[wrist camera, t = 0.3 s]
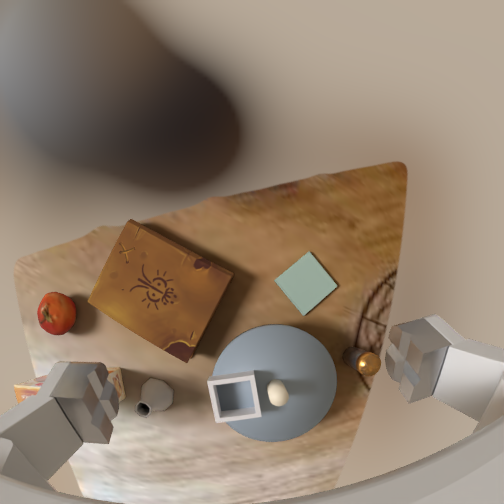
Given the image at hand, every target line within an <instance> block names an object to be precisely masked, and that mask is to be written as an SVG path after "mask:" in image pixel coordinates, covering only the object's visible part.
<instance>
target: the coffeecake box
mask: <svg viewBox="0 0 504 504" xmlns="http://www.w3.org/2000/svg"><path fill="white" fill-rule="evenodd" d="M107 370H108V373H109V375H108V378H107V380H108V381H109V382H111V383H112V384H113V385H114V386H115V388H116V391H117V394H118V398H119V402H120V401H121V400H123V399H124V398H126V395H125V391H124V386H123V381H122V374H121V369H120V367H115V368H107ZM47 376H48V375H45V376H42V377H39V378H36V379H33V380H30V381H26V382H23V383H20V384H16V385H14V388H15V393H16V397H17V401H18V404H19V403H20V402H22V401H24V400H25V399H27V398H28V397H30V396H31V395H36V394H37V393H38V391H39V389H40V388H41V386H42V384H43V383H44V381H45V379H46V378H47Z"/></svg>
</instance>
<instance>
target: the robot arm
mask: <svg viewBox="0 0 504 504" xmlns="http://www.w3.org/2000/svg"><path fill="white" fill-rule="evenodd" d="M389 339H390V341H391V342H392V344H391V345H390V346H389V348H388V349H387V350H386V357H385V362H386V369H387V371H388V374H389V375H390V377H391V378H392V379H393V380H394V381H397V382H399V383H400V386H399V390H400V391H401V393H402V394H403V396H404V397H405V399H406V400H407V402H408V403H412V402H415V401H418V400H421V399H424V398H427V397H429V396H432V395H433V397H434V398H436V399H438V400H439V401H441V402H443V403H445V404H447V405H449V406H451V407H453V408H454V409H456V410H458V411H460V412H462V413H464V414H465V415H467V416H469V417H471V418H473V419H475V420H477V421H479V423H478V425H477V426H476V428H475V430H474V431H473V434H471V435H470V436H468V437H466V438H464V439H462V440H460V441H459V442H457V443H455V444H453V445H451V446H449V447H447V448H445V449H443V450H441V451H438V452H436V453H434V454H432V455H430V456H428V457H426V458H423V459H421V460H418V461H416V462H414V463H411V464H409V465H406V466H404V467H401V468H399V469H396V470H394V471H391V472H388V473H385V474H382V475H380V476H376V477H373V478H370V479H367V480H364V481H361V482H358V483H354V484H351V485H347V486H343V487H340V488H336V489H332V490H328V491H324V492H319V493H315V494H310V495H305V496H300V497H295V498H289V499H283V500H277V501H270V502H263V503H254V504H504V349H502V348H499V347H496V346H493V345H489V344H486V343H482V342H479V341H476V340H472V339H467V340H465V339H464V338H463V337H462V336H461V335H460V334H459V333H457V332H456V331H455V330H454V329H453V328H452V327H451V326H450V325H448V324H447V323H446V322H445V321H444V320H443V319H442V318H440V317H439V316H438V315H435V314H432V315H429V316H426V317H422V318H420V319H417V320H413V321H410V322H406V323H402V324H398V325H394V326H392V327H391V329H390V332H389ZM108 375H109V373H108V370H107V368H106V366H105V365H104V364H103V363H101V362H64V361H59V362H57V363H55V365H54V366H53V368H52V369H51V371H50V373H49V374H48V376H47V378H46V379H45V381H44V383H43V384H42V386H41V388H40V389H39V391H38V393H37V394H36V395H31V396H30V397H28V398H27V399H25V400H24V401H22V402H20V403H19V404H17V405H16V406H14V407H13V408H11V409H9V410H8V411H6V412H5V413H4V414H2V415H0V504H123V503H115V502H108V501H102V500H95V499H90V498H84V497H79V496H74V495H70V494H65V493H61V492H58V491H57V490H56V489H55V488H54V487H53V486H52V485H51V484H50V483H49V482H48V480H49V479H50V478H51V477H52V476H53V475H54V473H55V472H56V471H57V470H58V469H59V468H60V467H61V466H62V465H63V464H64V463H65V462H66V461H67V460H68V459H69V458H70V457H71V456H72V455H73V454H74V453H75V452H76V451H77V450H78V449H79V448H80V447H81V446H82V445H83V442H86V443H100V444H109V441H110V438H111V434H112V431H113V425H112V423H111V420H112V419H114V418H115V417H116V416H117V413H118V410H119V398H118V394H117V391H116V388H115V386H114V385H113V384H112V383H111V382H109V381H108V380H107V378H108Z"/></svg>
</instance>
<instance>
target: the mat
mask: <svg viewBox="0 0 504 504" xmlns="http://www.w3.org/2000/svg"><path fill="white" fill-rule="evenodd" d="M274 281H275V282H276V283H277V285H278V286H279V287H280V288H281V290H282V291H283V292H284V293H285V294H286V296H287V297H288V298H289V299H290V300H291V302H292V303H293V304H294V305H295V307H296V308H297V309H298V310H299V311H300V313H301V314H302V315H303V316H304V315H305V314H306V313H307V312H309V311H310V310H311V309H312V308H313V307H314V306H316V305H317V304H318V303H319V302H320V301H321V300H322V299H324V298H325V297H326V296H327V295H328V294H329V293H330V292H331V291H333V290H334V289H335V288H336V287H337V285H336V283H335V282H334V281H333V280H332V279H331V277H330V276H329V275H328V274H327V272H326V271H325V270H324V269H323V267H322V266H321V265H320V264H319V263H318V261H317V260H316V259H315V258H314V257H313V255H312V254H311V253H310V252H308V253H306V254H305V255H304V256H303V257H302V258H301V259H299V260H298V261H297V262H296V263H295V264H293V265H292V266H291V267H290V268H289V269H287V270H286V271H285V272H284V273H283V274H281V275H280V276H279V277H278V278H277V279H275V280H274Z"/></svg>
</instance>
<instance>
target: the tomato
mask: <svg viewBox="0 0 504 504" xmlns="http://www.w3.org/2000/svg"><path fill="white" fill-rule="evenodd" d="M37 314H38V320H39V323H40V326H41V327H42V328H43V329H44V330H45V331H46V332H48V333H50V334H53V335H63V334H65V333H66V332H67V331H69V330H70V329H71V327H72V326H73V325H74V323H75V320H76V307H75V304H74V302H73V301H72V300H71V299H70V298H69V297H67V296H66V295H64V294H61V293H58V292H51V293H47V294H46V295H45V296H44V297H43V299H42V301H41V303H40V305H39V308H38V312H37Z"/></svg>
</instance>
